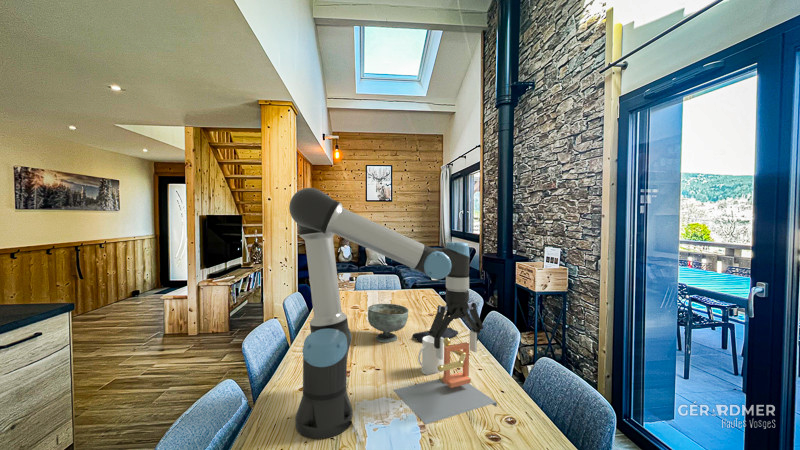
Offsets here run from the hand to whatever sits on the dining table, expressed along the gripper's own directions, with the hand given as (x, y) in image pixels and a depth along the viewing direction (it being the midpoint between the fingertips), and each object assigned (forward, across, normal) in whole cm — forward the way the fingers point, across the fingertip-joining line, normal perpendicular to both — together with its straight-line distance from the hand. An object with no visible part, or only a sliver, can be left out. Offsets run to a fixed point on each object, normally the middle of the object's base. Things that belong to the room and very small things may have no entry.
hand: (456, 354), depth 105 cm
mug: (+12, 0, -16) cm, 20 cm away
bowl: (+12, 0, -54) cm, 56 cm away
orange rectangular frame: (+9, 0, 0) cm, 9 cm away
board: (+12, +7, +2) cm, 14 cm away
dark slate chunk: (+13, -23, -47) cm, 54 cm away
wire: (+11, +6, +1) cm, 12 cm away
